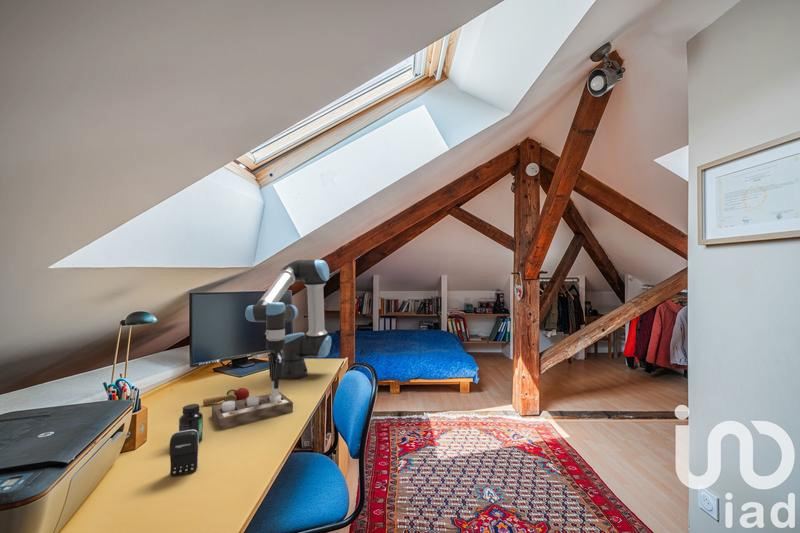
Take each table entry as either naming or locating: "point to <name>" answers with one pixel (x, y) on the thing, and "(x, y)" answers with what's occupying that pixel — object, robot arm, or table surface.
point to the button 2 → (275, 398)
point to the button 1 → (228, 406)
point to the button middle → (252, 401)
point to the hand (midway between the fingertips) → (275, 395)
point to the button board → (251, 411)
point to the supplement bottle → (191, 419)
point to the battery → (184, 452)
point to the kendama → (229, 396)
